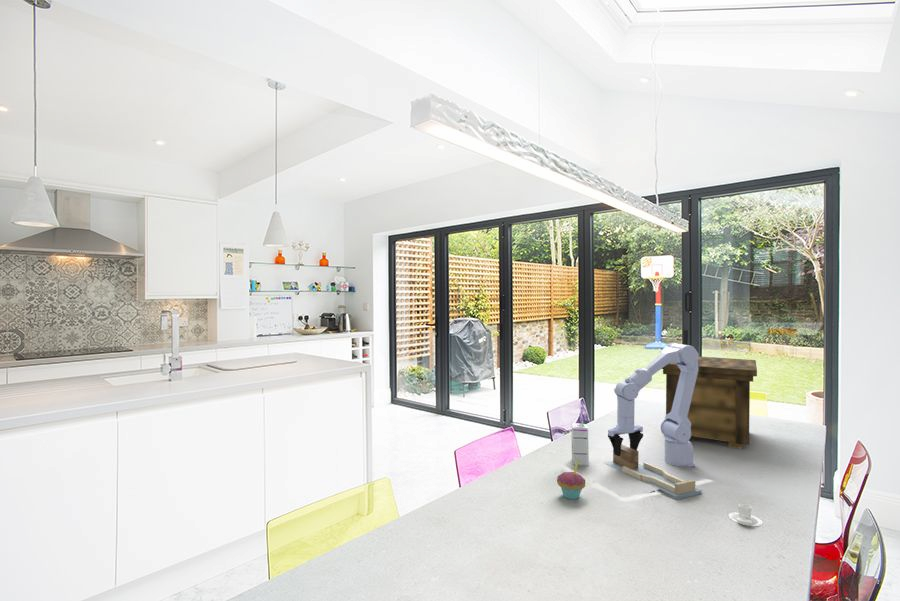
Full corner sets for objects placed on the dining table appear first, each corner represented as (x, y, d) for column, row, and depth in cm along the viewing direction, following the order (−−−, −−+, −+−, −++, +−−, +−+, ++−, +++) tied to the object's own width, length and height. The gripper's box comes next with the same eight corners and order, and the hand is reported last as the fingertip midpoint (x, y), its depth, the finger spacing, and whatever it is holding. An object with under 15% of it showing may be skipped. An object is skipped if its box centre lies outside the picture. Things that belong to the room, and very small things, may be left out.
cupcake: (586, 492, 146) (586, 454, 146) (584, 504, 138) (584, 463, 138) (558, 488, 149) (558, 451, 149) (555, 499, 141) (555, 460, 141)
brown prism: (621, 460, 172) (621, 444, 172) (638, 468, 164) (638, 451, 164) (613, 462, 170) (613, 445, 170) (629, 469, 163) (629, 452, 163)
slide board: (626, 461, 174) (626, 450, 174) (701, 493, 146) (701, 480, 146) (603, 465, 170) (603, 454, 170) (676, 499, 141) (676, 486, 141)
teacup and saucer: (749, 531, 123) (749, 516, 123) (720, 518, 130) (720, 504, 130) (768, 523, 127) (768, 509, 127) (739, 511, 134) (739, 497, 134)
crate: (659, 438, 201) (659, 363, 201) (670, 420, 231) (670, 354, 230) (756, 453, 182) (757, 370, 182) (754, 431, 212) (755, 360, 212)
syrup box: (589, 468, 167) (589, 427, 167) (571, 467, 168) (572, 427, 168) (587, 462, 172) (587, 423, 172) (571, 461, 174) (571, 422, 173)
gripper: (632, 411, 174) (632, 447, 174) (602, 415, 168) (601, 452, 168) (647, 415, 167) (647, 453, 167) (616, 420, 161) (616, 459, 161)
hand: (625, 453), depth 167 cm, fingers open, 7 cm apart
